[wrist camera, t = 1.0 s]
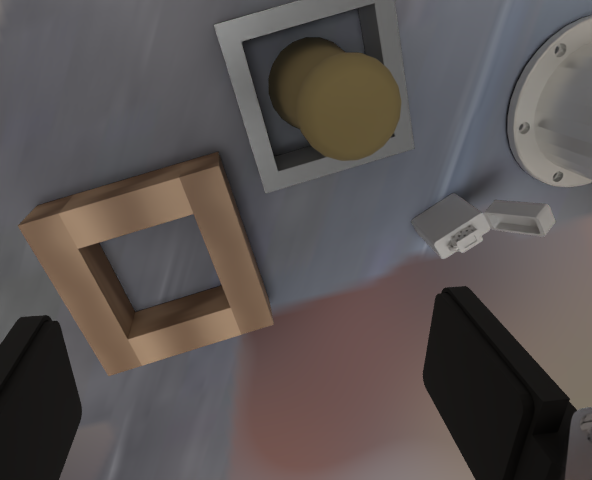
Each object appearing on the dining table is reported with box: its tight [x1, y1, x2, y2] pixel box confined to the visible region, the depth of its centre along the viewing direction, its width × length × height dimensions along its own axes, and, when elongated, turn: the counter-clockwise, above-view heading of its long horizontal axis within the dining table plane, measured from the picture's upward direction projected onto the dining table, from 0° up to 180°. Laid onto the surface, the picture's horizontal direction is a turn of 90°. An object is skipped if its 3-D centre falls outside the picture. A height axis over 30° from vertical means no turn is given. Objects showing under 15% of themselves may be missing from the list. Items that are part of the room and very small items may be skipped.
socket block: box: [18, 152, 274, 376], centre depth 33 cm, size 13×13×4 cm
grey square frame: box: [214, 0, 415, 194], centre depth 29 cm, size 10×10×4 cm
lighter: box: [411, 193, 556, 259], centre depth 33 cm, size 7×2×8 cm, turn 123°
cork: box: [268, 37, 402, 161], centre depth 26 cm, size 6×6×11 cm
